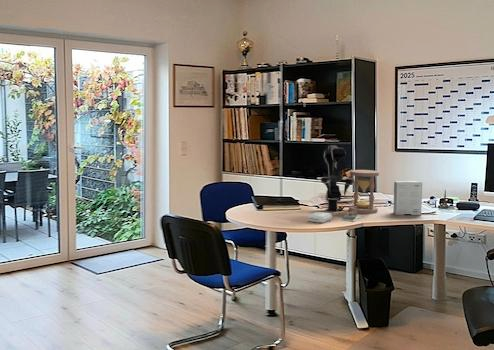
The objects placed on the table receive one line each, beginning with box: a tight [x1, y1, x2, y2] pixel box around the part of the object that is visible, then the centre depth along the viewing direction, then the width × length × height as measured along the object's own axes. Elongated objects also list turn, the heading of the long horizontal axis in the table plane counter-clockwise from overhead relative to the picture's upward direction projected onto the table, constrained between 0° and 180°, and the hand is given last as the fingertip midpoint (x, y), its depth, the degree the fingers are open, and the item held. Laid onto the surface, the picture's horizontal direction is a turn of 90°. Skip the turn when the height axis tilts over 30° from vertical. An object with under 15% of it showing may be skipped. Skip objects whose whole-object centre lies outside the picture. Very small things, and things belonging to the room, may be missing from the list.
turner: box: [342, 210, 358, 220], centre depth 308 cm, size 15×6×3 cm, turn 155°
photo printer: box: [307, 211, 333, 224], centre depth 299 cm, size 10×4×12 cm
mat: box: [340, 213, 363, 222], centre depth 308 cm, size 18×8×1 cm, turn 155°
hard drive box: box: [393, 180, 423, 216], centre depth 321 cm, size 16×8×20 cm, turn 84°
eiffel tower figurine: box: [437, 188, 456, 211], centre depth 342 cm, size 15×10×13 cm
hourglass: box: [348, 169, 380, 215], centre depth 329 cm, size 18×18×25 cm
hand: (337, 194), depth 318 cm, fingers open, 9 cm apart
